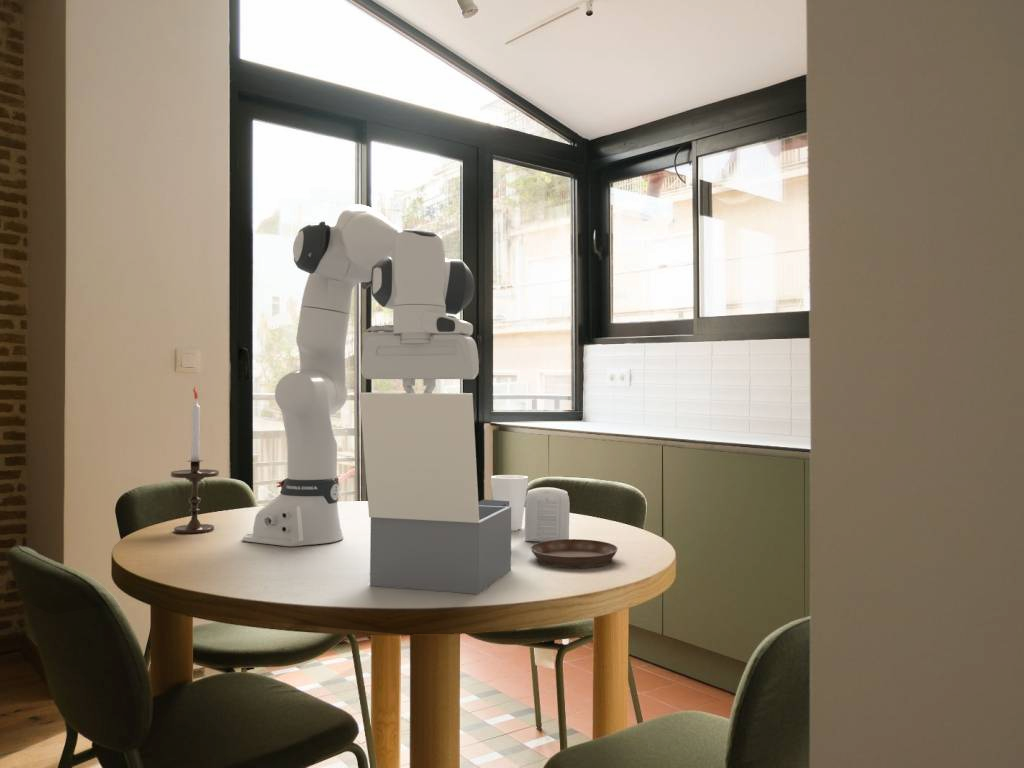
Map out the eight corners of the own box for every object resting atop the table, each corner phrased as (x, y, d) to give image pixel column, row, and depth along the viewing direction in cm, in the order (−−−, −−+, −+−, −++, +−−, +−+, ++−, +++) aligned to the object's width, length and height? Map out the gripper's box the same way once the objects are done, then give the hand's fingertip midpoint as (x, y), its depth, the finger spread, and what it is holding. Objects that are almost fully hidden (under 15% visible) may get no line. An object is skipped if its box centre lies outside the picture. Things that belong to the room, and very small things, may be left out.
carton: (370, 585, 138) (370, 517, 139) (414, 562, 158) (414, 502, 158) (478, 594, 133) (479, 522, 133) (510, 569, 152) (511, 506, 152)
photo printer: (569, 539, 184) (569, 486, 184) (569, 543, 180) (569, 488, 180) (525, 539, 185) (525, 486, 185) (524, 542, 180) (524, 488, 181)
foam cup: (527, 531, 194) (528, 478, 195) (490, 531, 194) (490, 478, 195) (527, 525, 204) (527, 475, 204) (491, 525, 204) (491, 474, 204)
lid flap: (370, 515, 139) (369, 517, 138) (361, 392, 135) (359, 393, 134) (479, 521, 133) (478, 522, 133) (472, 393, 129) (471, 393, 129)
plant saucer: (554, 574, 150) (554, 558, 150) (516, 556, 166) (516, 542, 166) (634, 566, 157) (634, 551, 157) (590, 550, 173) (590, 536, 173)
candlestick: (161, 531, 192) (163, 386, 192) (204, 525, 200) (205, 387, 201) (183, 536, 185) (185, 386, 185) (226, 530, 193) (228, 387, 194)
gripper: (354, 324, 133) (354, 406, 133) (470, 321, 128) (469, 407, 128) (371, 327, 139) (370, 405, 139) (482, 325, 134) (481, 406, 134)
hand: (419, 406), depth 133 cm, fingers closed, pressing on lid flap
